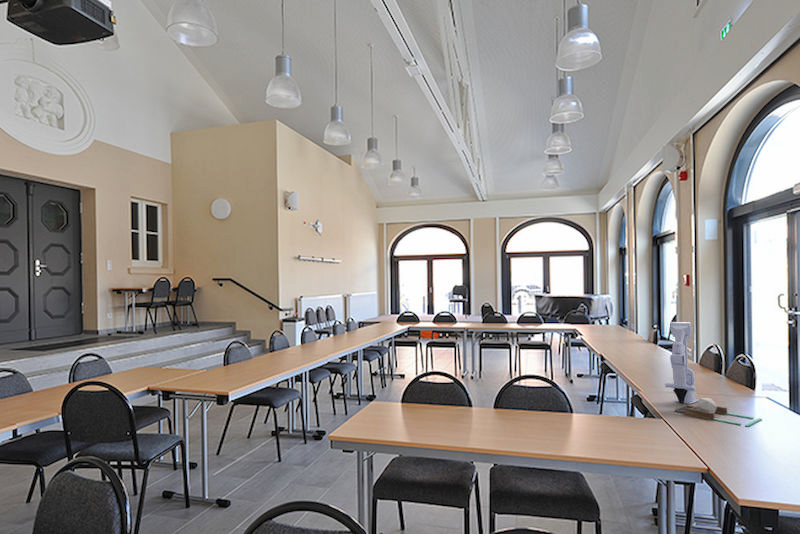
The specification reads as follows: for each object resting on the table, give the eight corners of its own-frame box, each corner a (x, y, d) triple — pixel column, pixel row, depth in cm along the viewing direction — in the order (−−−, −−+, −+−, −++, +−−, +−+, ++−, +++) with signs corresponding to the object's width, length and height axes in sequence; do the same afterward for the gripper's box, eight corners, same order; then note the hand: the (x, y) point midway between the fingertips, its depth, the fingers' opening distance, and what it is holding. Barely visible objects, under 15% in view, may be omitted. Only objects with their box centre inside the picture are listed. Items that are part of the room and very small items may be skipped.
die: (716, 413, 229) (702, 396, 234) (724, 409, 222) (709, 392, 227) (703, 421, 228) (688, 403, 233) (711, 417, 221) (696, 399, 226)
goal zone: (727, 413, 226) (727, 412, 226) (761, 420, 214) (761, 418, 214) (713, 420, 218) (713, 418, 218) (748, 426, 206) (748, 425, 206)
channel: (699, 408, 237) (698, 402, 237) (727, 413, 226) (726, 407, 226) (684, 414, 229) (684, 408, 229) (713, 420, 218) (712, 413, 218)
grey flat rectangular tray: (686, 407, 241) (686, 405, 241) (696, 408, 237) (696, 406, 237) (674, 411, 235) (674, 409, 235) (685, 413, 230) (684, 411, 230)
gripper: (661, 376, 242) (663, 401, 241) (690, 380, 230) (692, 407, 229) (668, 374, 246) (670, 399, 245) (697, 378, 233) (699, 404, 233)
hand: (681, 402), depth 237 cm, fingers closed
